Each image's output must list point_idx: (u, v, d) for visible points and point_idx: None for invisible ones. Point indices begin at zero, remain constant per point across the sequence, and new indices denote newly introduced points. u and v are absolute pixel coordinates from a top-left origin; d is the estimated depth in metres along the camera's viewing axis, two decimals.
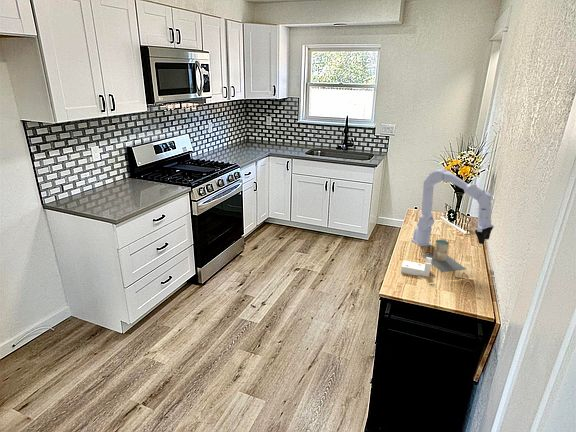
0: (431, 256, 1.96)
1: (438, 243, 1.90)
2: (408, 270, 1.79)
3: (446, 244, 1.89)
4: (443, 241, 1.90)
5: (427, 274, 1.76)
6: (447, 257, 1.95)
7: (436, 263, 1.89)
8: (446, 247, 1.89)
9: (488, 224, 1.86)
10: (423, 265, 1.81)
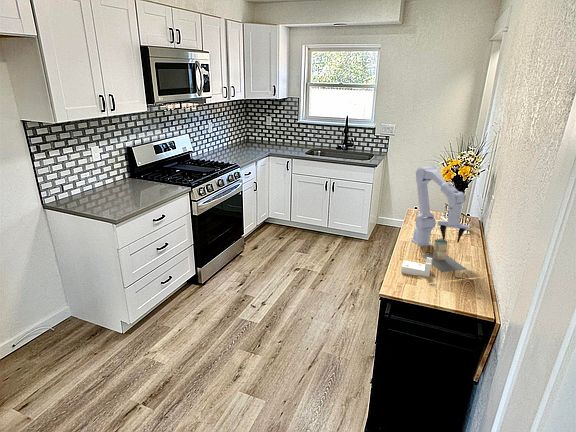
0: (431, 256, 1.96)
1: (437, 242, 1.90)
2: (408, 270, 1.79)
3: (445, 243, 1.89)
4: (442, 240, 1.90)
5: (427, 274, 1.76)
6: (447, 257, 1.95)
7: (436, 263, 1.89)
8: (445, 246, 1.89)
9: (449, 223, 1.88)
10: (423, 265, 1.81)
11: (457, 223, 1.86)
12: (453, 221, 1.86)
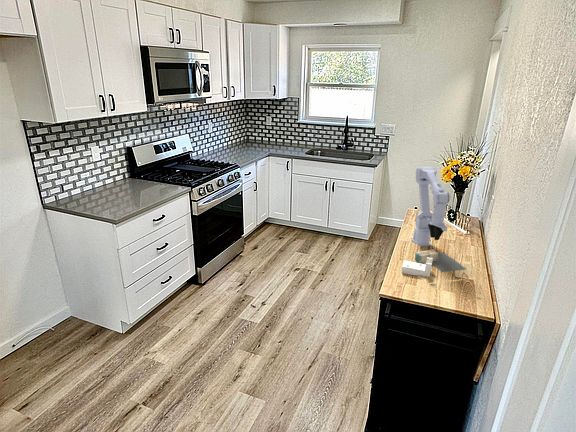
0: None
1: None
2: (409, 270, 1.79)
3: (421, 258, 1.89)
4: (417, 257, 1.90)
5: (428, 274, 1.76)
6: (447, 257, 1.95)
7: (436, 263, 1.89)
8: (424, 256, 1.89)
9: (431, 220, 1.94)
10: (424, 265, 1.81)
11: (437, 222, 1.90)
12: (433, 219, 1.91)
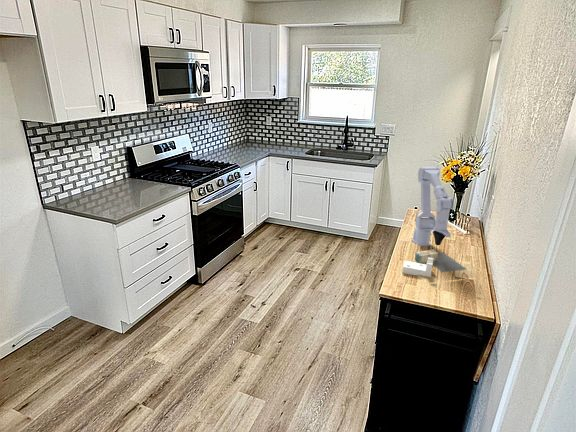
0: None
1: None
2: (409, 270, 1.79)
3: (421, 258, 1.89)
4: (417, 257, 1.90)
5: (429, 274, 1.76)
6: (447, 257, 1.95)
7: (436, 263, 1.89)
8: (424, 256, 1.89)
9: (434, 226, 1.91)
10: (424, 265, 1.81)
11: (440, 228, 1.88)
12: (436, 225, 1.89)
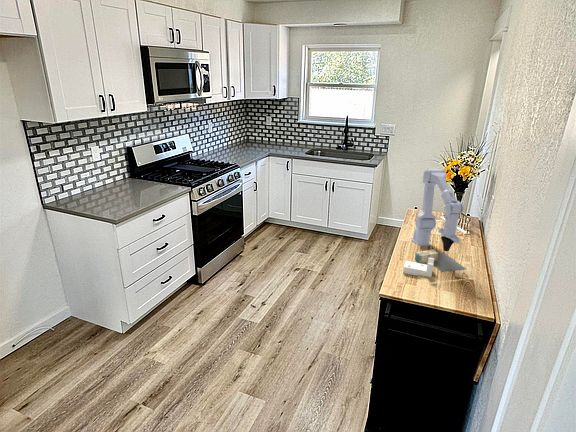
0: None
1: None
2: (410, 270, 1.79)
3: (421, 258, 1.89)
4: (417, 257, 1.90)
5: (429, 274, 1.76)
6: (447, 257, 1.95)
7: (436, 263, 1.89)
8: (424, 256, 1.89)
9: (443, 231, 1.85)
10: (425, 265, 1.81)
11: (449, 233, 1.82)
12: (445, 230, 1.83)
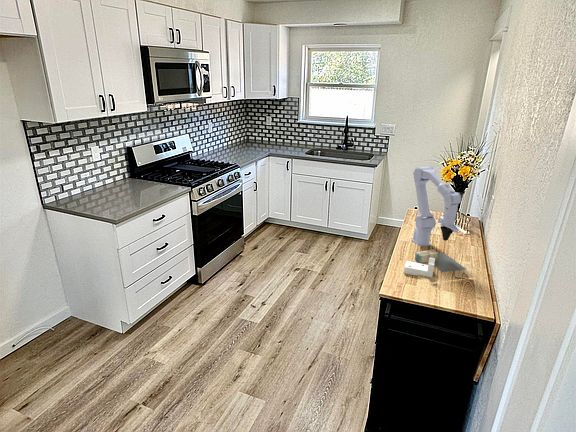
0: None
1: None
2: (411, 271, 1.79)
3: (421, 258, 1.89)
4: (417, 257, 1.90)
5: (430, 275, 1.76)
6: (447, 257, 1.95)
7: (436, 263, 1.89)
8: (424, 256, 1.89)
9: (442, 221, 1.92)
10: (426, 266, 1.81)
11: (448, 223, 1.89)
12: (444, 220, 1.90)
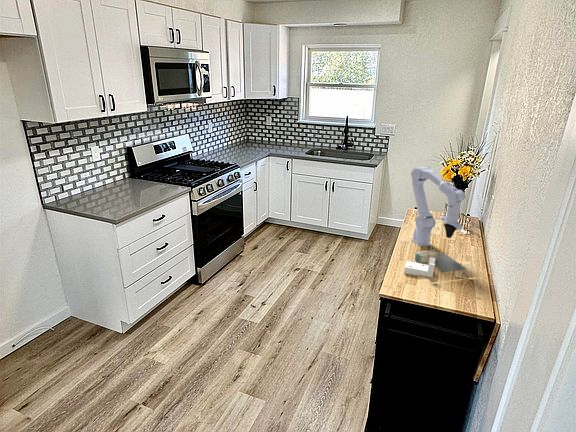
0: None
1: None
2: (411, 271, 1.79)
3: (421, 258, 1.89)
4: (417, 257, 1.90)
5: (431, 275, 1.75)
6: (447, 257, 1.95)
7: (436, 263, 1.89)
8: (424, 256, 1.89)
9: (446, 219, 1.93)
10: (426, 266, 1.81)
11: (451, 220, 1.90)
12: (448, 217, 1.91)
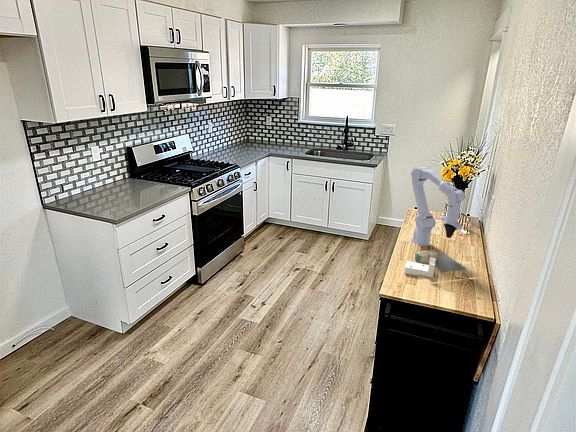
0: None
1: None
2: (412, 271, 1.79)
3: (421, 258, 1.89)
4: (417, 257, 1.90)
5: (431, 275, 1.75)
6: (447, 257, 1.95)
7: (436, 263, 1.89)
8: (424, 256, 1.89)
9: (446, 219, 1.93)
10: (427, 266, 1.80)
11: (451, 220, 1.90)
12: (448, 217, 1.91)
